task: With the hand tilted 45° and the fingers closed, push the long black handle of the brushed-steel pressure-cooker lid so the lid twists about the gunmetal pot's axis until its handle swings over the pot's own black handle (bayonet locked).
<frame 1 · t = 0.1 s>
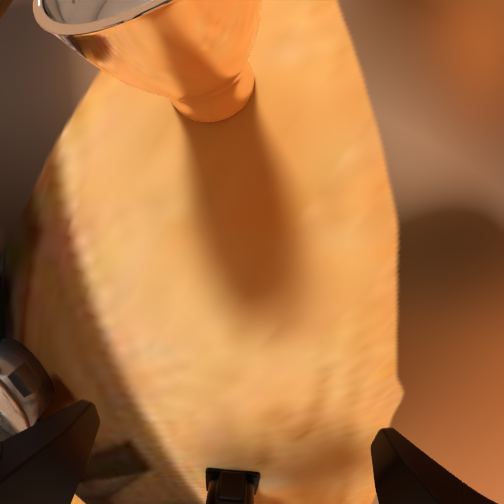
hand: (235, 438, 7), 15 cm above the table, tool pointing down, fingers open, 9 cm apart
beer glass: (211, 84, 18), on the table
pot: (24, 372, 26), on the table
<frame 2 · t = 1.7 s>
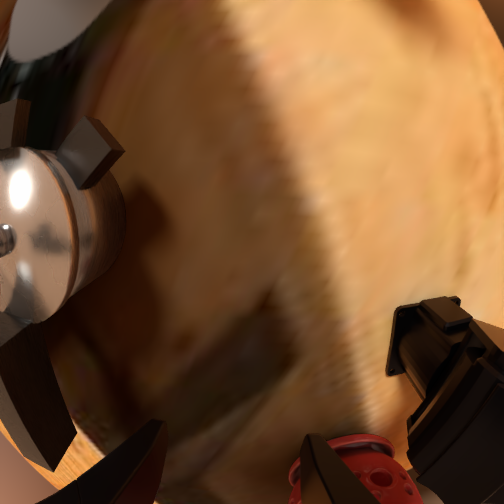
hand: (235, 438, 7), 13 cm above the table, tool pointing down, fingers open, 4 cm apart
plant pot: (339, 458, 25), on the table
pot: (70, 218, 19), on the table
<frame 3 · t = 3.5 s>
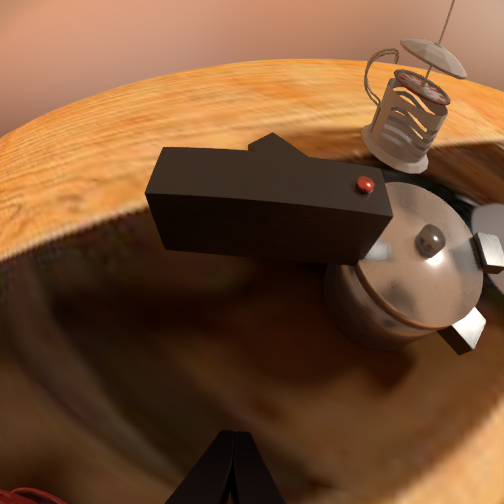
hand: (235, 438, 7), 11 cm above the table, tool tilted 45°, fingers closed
french press: (389, 144, 33), on the table
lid: (383, 222, 14), point 9 cm above the table, hinge at 50.0°
pot: (380, 291, 22), on the table
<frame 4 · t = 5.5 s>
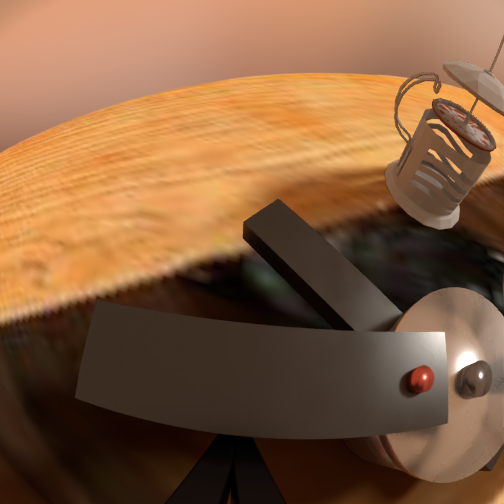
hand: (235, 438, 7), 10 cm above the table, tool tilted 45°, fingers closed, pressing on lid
french press: (416, 189, 27), on the table
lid: (427, 385, 9), point 9 cm above the table, hinge at 49.2°, touching gripper
pot: (400, 398, 16), on the table
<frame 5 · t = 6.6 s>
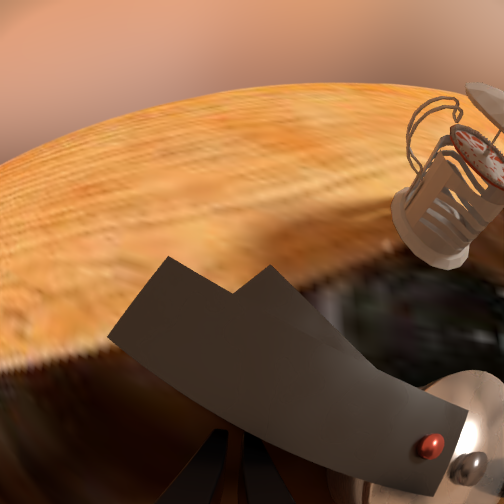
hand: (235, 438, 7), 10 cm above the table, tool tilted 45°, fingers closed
french press: (425, 222, 25), on the table
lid: (429, 455, 7), point 9 cm above the table, hinge at 24.2°, touching gripper
pot: (394, 458, 14), on the table
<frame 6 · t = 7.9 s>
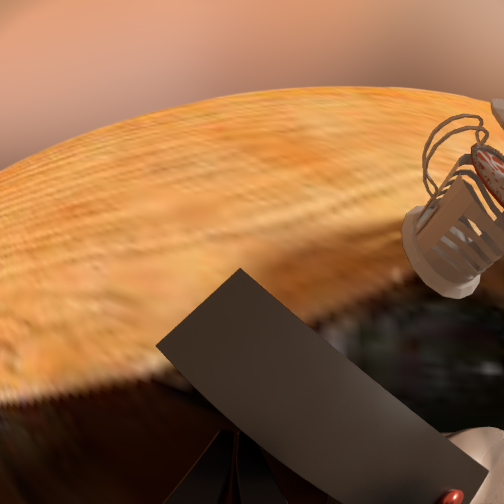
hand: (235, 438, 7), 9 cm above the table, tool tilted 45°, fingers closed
french press: (436, 246, 23), on the table
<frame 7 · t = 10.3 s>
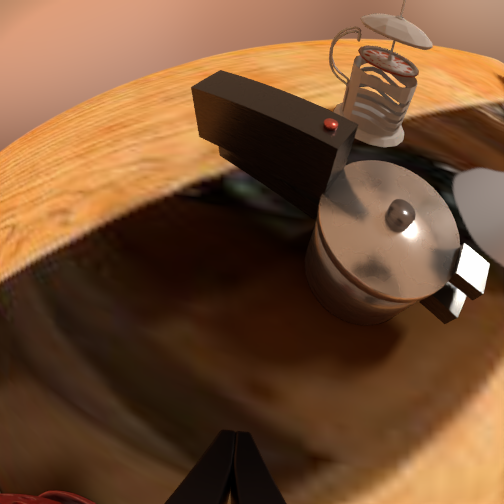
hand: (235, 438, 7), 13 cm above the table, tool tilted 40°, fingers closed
french press: (362, 120, 33), on the table
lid: (352, 170, 17), point 9 cm above the table, hinge at 11.5°
pot: (362, 267, 24), on the table
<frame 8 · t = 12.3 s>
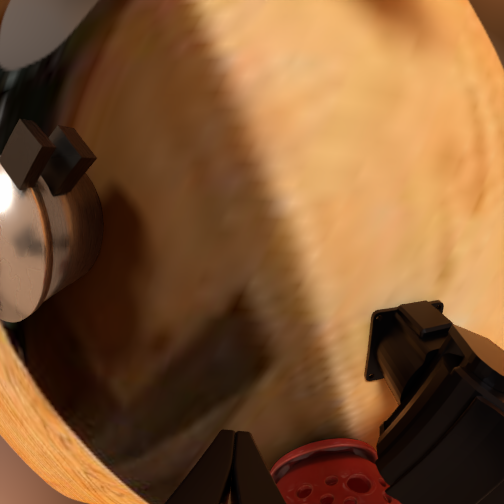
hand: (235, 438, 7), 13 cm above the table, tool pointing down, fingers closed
plant pot: (322, 461, 25), on the table
pot: (53, 221, 19), on the table
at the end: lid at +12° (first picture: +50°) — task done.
